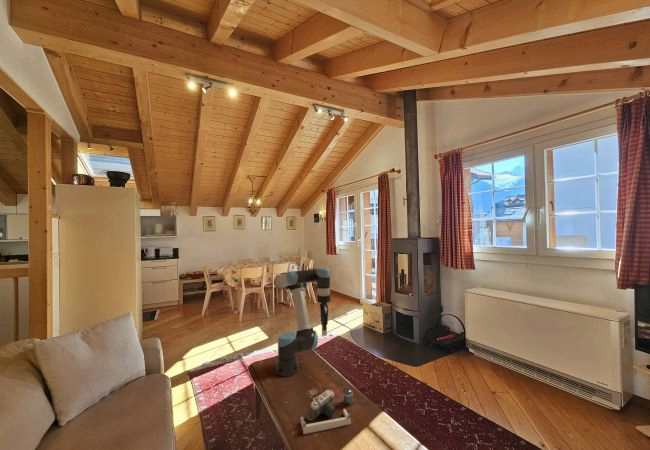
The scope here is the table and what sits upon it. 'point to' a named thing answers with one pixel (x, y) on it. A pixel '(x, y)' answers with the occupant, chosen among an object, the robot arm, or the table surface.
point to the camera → (321, 405)
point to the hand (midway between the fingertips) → (324, 335)
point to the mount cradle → (326, 424)
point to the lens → (347, 396)
